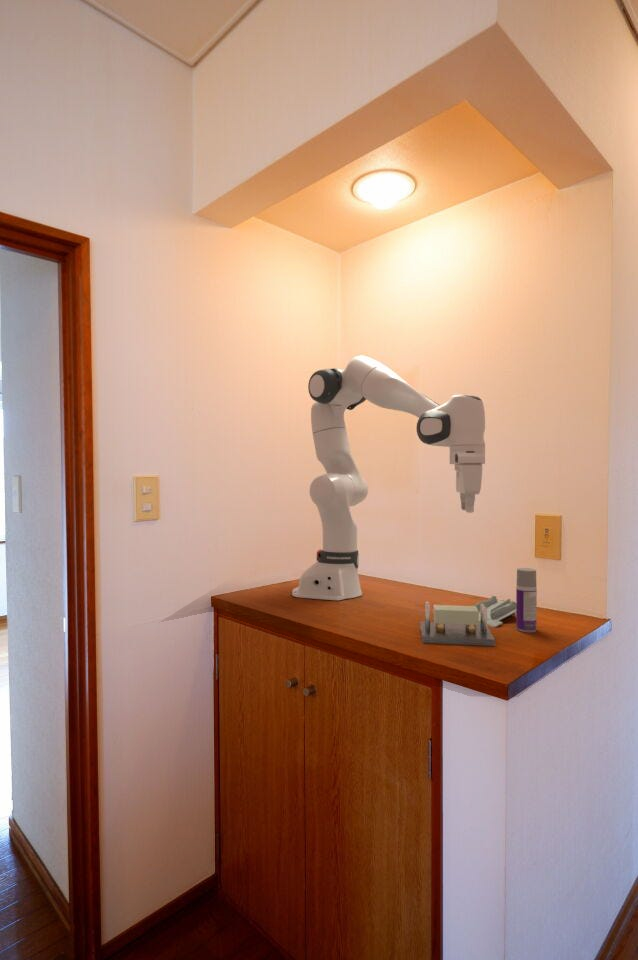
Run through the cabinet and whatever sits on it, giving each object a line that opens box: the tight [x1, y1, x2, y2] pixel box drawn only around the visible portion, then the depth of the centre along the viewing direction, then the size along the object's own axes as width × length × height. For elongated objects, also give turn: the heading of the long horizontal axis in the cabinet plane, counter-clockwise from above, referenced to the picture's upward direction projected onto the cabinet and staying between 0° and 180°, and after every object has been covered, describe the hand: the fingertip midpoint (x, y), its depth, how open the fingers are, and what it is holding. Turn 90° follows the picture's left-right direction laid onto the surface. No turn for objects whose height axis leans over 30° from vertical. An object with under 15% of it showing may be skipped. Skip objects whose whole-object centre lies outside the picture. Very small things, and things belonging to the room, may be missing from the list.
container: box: [515, 567, 538, 633], centre depth 134 cm, size 5×5×15 cm
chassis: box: [419, 601, 496, 647], centre depth 128 cm, size 16×13×8 cm
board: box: [433, 604, 480, 625], centre depth 128 cm, size 10×5×3 cm, turn 81°
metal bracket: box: [472, 595, 516, 628], centre depth 145 cm, size 14×6×15 cm
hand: (467, 511), depth 138 cm, fingers open, 8 cm apart
